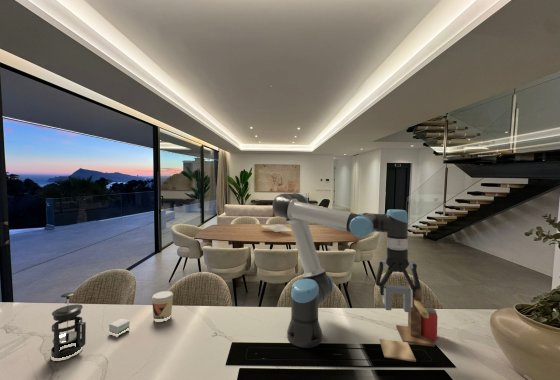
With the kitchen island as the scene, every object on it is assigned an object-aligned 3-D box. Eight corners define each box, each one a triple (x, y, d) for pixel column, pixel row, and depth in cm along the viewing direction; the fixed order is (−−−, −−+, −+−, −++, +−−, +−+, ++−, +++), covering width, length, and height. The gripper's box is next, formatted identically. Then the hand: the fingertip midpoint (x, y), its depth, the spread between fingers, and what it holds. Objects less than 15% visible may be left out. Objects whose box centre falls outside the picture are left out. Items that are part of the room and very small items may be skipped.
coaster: (384, 357, 93) (384, 355, 93) (379, 340, 104) (379, 338, 104) (416, 361, 91) (416, 360, 91) (407, 343, 102) (407, 342, 102)
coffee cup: (147, 323, 116) (147, 297, 116) (160, 313, 125) (160, 290, 125) (165, 325, 114) (165, 299, 114) (176, 315, 123) (177, 291, 123)
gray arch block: (385, 309, 97) (386, 287, 97) (384, 306, 100) (384, 284, 100) (410, 312, 95) (410, 289, 95) (408, 308, 98) (408, 286, 98)
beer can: (439, 342, 103) (440, 314, 103) (422, 340, 104) (423, 312, 104) (433, 333, 109) (434, 306, 109) (417, 330, 111) (417, 305, 111)
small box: (117, 338, 104) (117, 326, 104) (108, 335, 106) (108, 324, 106) (130, 331, 109) (130, 320, 109) (121, 328, 111) (121, 317, 111)
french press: (41, 361, 89) (42, 299, 89) (64, 345, 98) (64, 288, 98) (73, 362, 89) (74, 299, 89) (93, 346, 98) (93, 289, 98)
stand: (408, 355, 95) (409, 298, 95) (396, 327, 114) (396, 280, 114) (443, 360, 92) (443, 301, 92) (424, 330, 111) (424, 282, 112)
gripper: (369, 248, 96) (369, 305, 96) (430, 251, 92) (430, 311, 91) (367, 244, 104) (367, 297, 103) (423, 247, 99) (423, 303, 99)
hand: (397, 304), depth 97 cm, fingers closed on gray arch block, 9 cm apart
